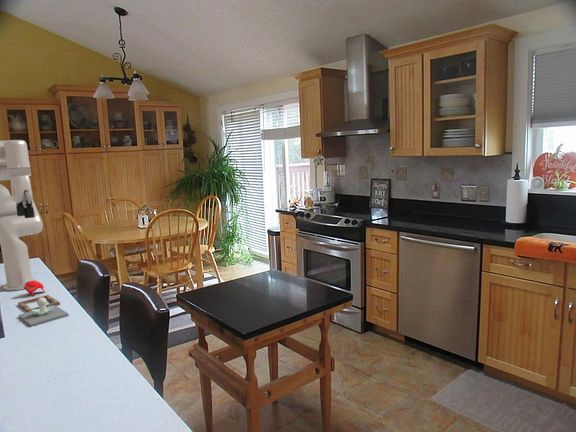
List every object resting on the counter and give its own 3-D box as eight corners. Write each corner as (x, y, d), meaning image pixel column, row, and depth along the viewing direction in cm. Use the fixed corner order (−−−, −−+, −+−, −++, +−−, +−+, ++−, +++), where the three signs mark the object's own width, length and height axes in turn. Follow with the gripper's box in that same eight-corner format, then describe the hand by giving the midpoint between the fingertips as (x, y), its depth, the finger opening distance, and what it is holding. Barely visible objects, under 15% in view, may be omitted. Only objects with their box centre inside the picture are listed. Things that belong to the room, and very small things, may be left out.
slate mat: (19, 316, 154) (18, 314, 154) (55, 307, 162) (54, 304, 162) (30, 326, 144) (30, 324, 144) (68, 315, 153) (68, 313, 152)
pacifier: (30, 314, 154) (32, 318, 149) (27, 297, 153) (29, 301, 148) (53, 308, 158) (56, 313, 154) (50, 292, 158) (53, 296, 153)
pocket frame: (18, 304, 167) (18, 302, 166) (48, 297, 174) (47, 294, 174) (28, 313, 157) (28, 310, 157) (60, 304, 165) (59, 302, 164)
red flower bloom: (25, 291, 173) (39, 280, 176) (19, 284, 176) (32, 274, 179) (37, 302, 179) (49, 291, 181) (30, 295, 182) (43, 285, 184)
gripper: (2, 173, 169) (9, 216, 172) (14, 173, 157) (21, 220, 160) (23, 171, 174) (30, 213, 177) (37, 172, 162) (43, 217, 165)
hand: (26, 216), depth 168 cm, fingers open, 9 cm apart
